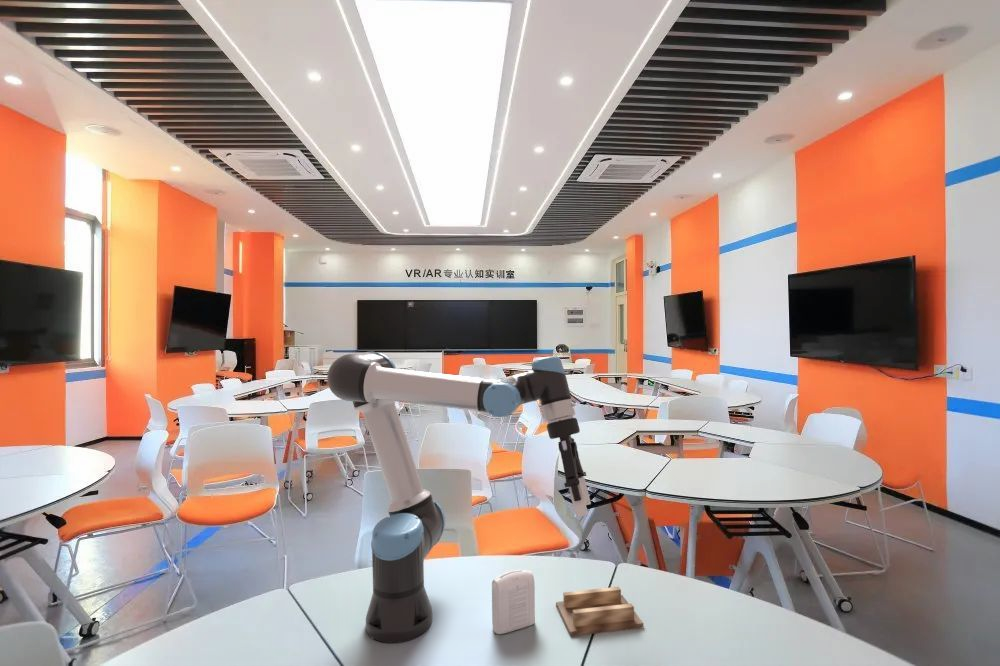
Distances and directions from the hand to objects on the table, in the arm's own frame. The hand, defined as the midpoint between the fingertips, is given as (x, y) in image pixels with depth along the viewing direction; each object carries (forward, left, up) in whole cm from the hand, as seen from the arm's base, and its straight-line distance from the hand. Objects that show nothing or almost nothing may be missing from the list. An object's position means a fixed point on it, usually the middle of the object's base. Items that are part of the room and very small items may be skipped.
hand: (583, 510), depth 113 cm
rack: (+3, 0, -25) cm, 25 cm away
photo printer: (-17, 0, -26) cm, 31 cm away
